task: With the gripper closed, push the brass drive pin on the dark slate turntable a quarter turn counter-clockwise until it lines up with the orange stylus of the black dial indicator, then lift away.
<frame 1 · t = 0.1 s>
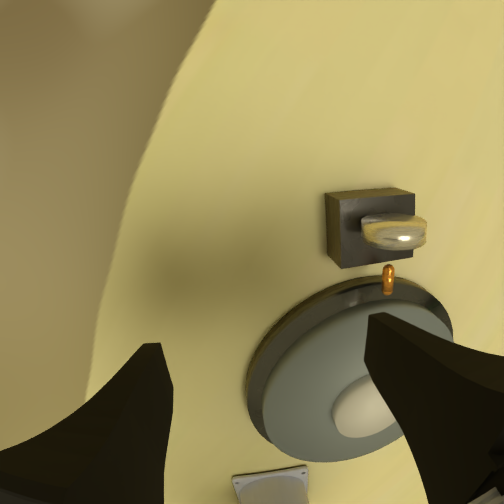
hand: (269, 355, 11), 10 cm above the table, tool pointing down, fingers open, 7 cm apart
turntable: (372, 407, 21), point 4 cm above the table, hinge at 0.0°
dial indicator: (362, 220, 20), on the table
plinth: (355, 376, 24), on the table
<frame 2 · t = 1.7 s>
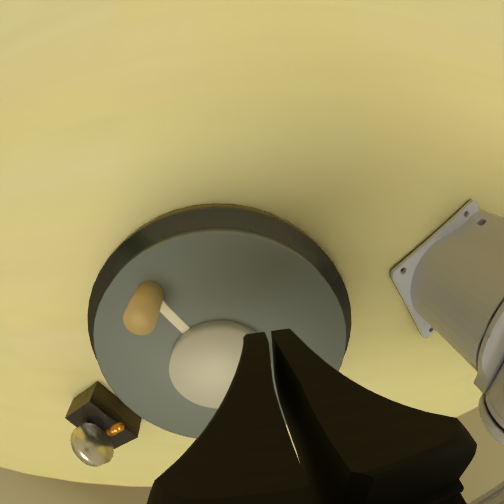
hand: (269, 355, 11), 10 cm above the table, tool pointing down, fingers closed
turntable: (220, 369, 18), point 4 cm above the table, hinge at 0.0°
dial indicator: (106, 408, 23), on the table
plinth: (219, 333, 22), on the table
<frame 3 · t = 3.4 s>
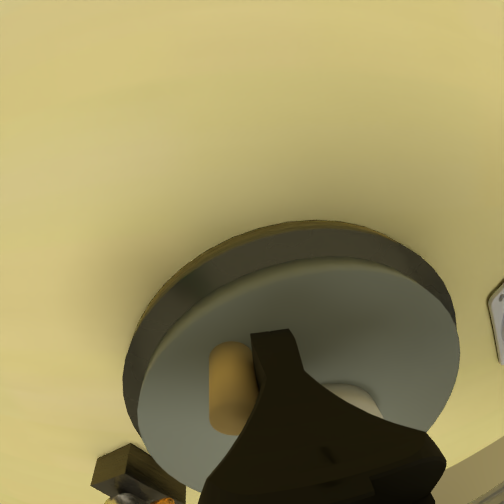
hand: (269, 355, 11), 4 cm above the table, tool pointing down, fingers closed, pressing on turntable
turntable: (319, 441, 12), point 4 cm above the table, hinge at 0.6°, touching gripper
dial indicator: (141, 469, 18), on the table
plinth: (300, 387, 16), on the table
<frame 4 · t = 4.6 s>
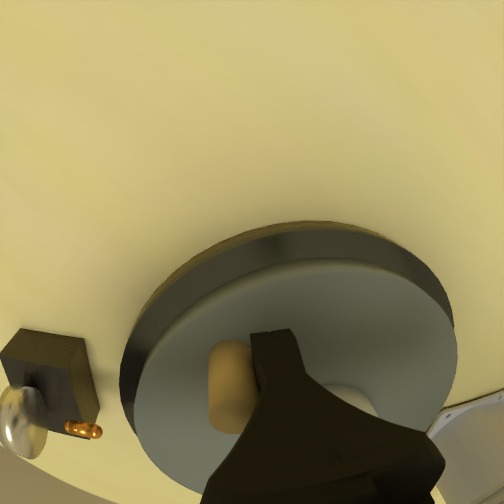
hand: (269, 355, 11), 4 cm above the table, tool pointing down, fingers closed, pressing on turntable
turntable: (315, 442, 12), point 4 cm above the table, hinge at 41.6°, touching gripper
dial indicator: (59, 371, 14), on the table
plinth: (297, 387, 16), on the table
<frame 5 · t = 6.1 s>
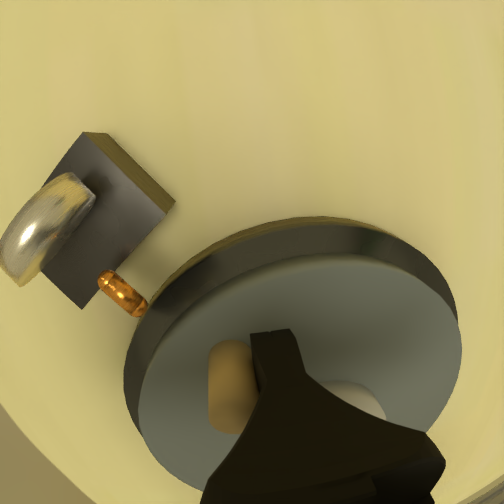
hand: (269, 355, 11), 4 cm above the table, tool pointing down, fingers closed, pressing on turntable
turntable: (321, 439, 12), point 4 cm above the table, hinge at 86.0°, touching gripper
dial indicator: (101, 211, 12), on the table
plinth: (301, 384, 16), on the table
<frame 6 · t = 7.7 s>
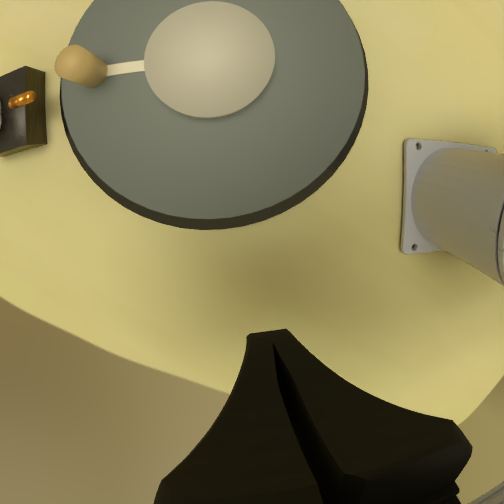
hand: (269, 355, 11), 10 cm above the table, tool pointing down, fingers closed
turntable: (209, 57, 13), point 4 cm above the table, hinge at 86.1°
dial indicator: (22, 114, 16), on the table
plinth: (211, 74, 17), on the table
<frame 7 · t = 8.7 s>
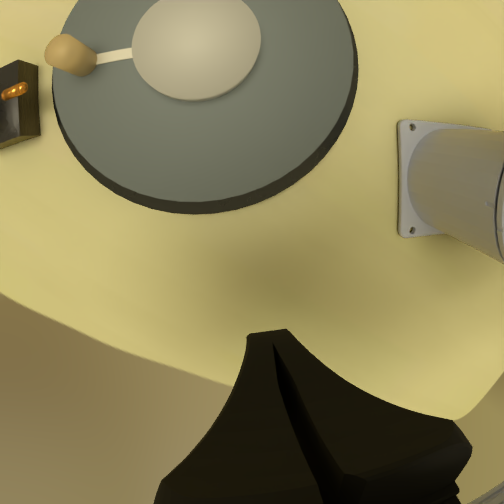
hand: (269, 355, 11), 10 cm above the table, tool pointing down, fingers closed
turntable: (195, 41, 13), point 4 cm above the table, hinge at 86.1°
dial indicator: (16, 108, 16), on the table
plinth: (201, 61, 16), on the table
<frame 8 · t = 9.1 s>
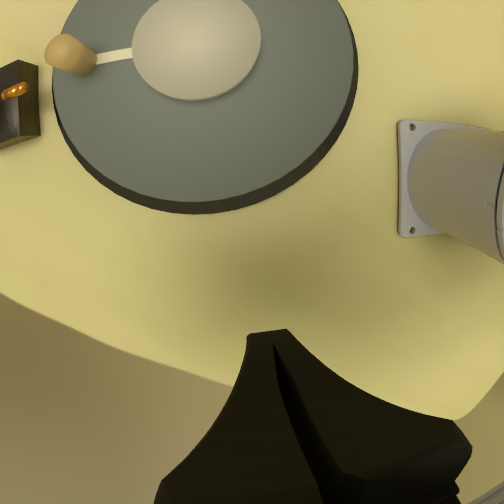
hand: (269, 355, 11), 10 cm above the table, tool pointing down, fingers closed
turntable: (195, 41, 13), point 4 cm above the table, hinge at 86.1°
dial indicator: (16, 108, 16), on the table
plinth: (201, 61, 16), on the table
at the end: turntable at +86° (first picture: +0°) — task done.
